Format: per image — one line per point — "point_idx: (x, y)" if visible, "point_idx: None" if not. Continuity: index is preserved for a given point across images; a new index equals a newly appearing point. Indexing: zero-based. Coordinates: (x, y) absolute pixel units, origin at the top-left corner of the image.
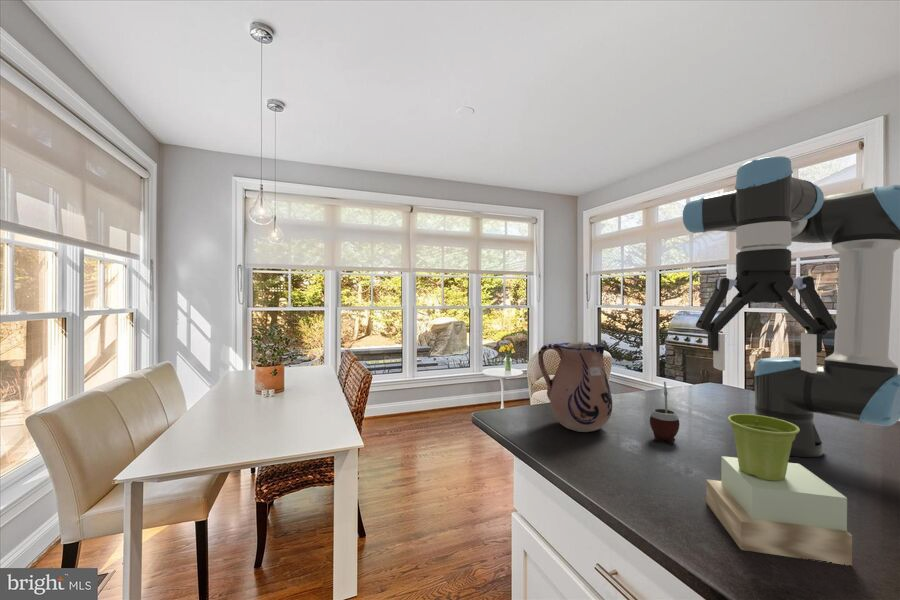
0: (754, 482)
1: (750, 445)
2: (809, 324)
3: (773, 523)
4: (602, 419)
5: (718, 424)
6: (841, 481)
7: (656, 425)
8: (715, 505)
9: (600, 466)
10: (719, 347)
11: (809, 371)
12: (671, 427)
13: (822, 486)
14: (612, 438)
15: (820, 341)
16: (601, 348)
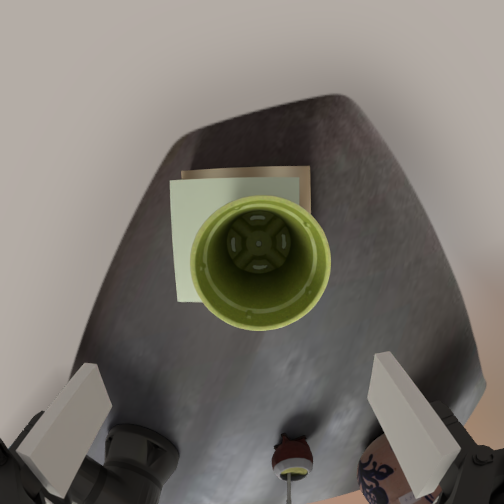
0: (287, 197)
1: (295, 221)
2: (15, 492)
3: (268, 172)
4: (379, 445)
5: (198, 488)
6: (111, 374)
7: (307, 452)
8: None
9: (408, 338)
10: (429, 407)
11: (98, 372)
12: (288, 450)
13: (184, 213)
14: (360, 427)
15: (22, 436)
16: None
